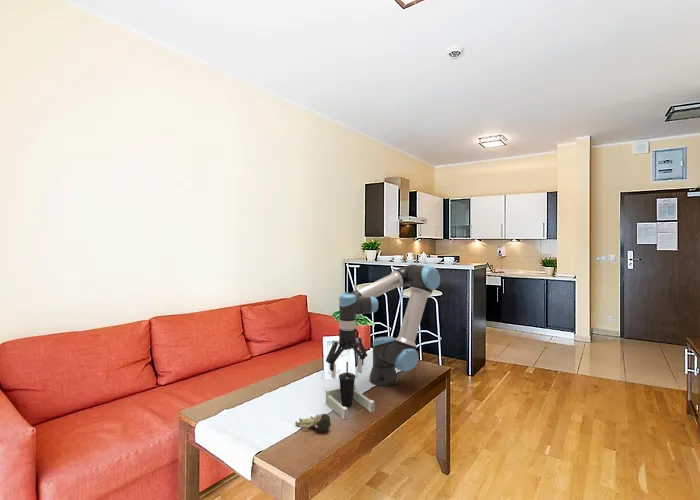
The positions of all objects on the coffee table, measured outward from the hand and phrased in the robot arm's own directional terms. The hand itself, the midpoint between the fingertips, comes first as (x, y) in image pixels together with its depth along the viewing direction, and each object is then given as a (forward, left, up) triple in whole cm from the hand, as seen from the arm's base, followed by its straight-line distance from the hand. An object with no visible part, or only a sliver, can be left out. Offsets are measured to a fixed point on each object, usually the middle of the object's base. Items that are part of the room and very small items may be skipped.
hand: (346, 375), depth 171 cm
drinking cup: (0, 0, -14) cm, 14 cm away
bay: (0, +3, -14) cm, 14 cm away
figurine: (+21, +11, -15) cm, 28 cm away
